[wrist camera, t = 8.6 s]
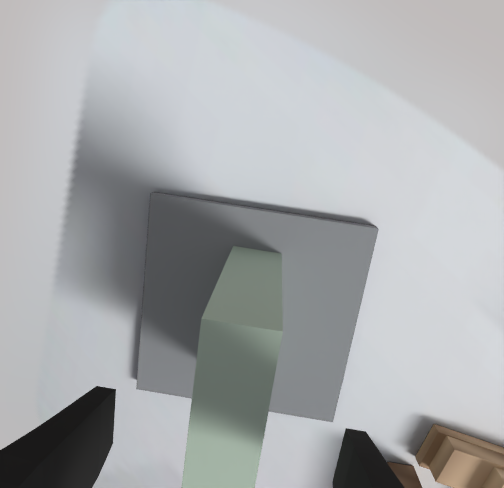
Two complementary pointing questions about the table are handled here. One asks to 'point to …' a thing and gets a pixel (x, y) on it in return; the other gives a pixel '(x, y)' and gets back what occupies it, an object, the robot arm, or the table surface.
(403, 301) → the table surface
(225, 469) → the panel
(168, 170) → the table surface
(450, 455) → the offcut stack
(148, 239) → the mat
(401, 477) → the rack
